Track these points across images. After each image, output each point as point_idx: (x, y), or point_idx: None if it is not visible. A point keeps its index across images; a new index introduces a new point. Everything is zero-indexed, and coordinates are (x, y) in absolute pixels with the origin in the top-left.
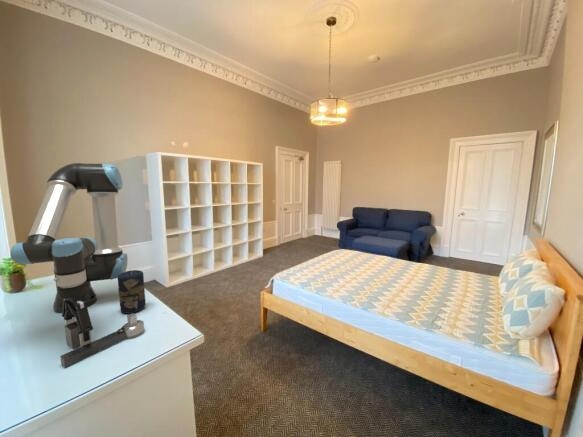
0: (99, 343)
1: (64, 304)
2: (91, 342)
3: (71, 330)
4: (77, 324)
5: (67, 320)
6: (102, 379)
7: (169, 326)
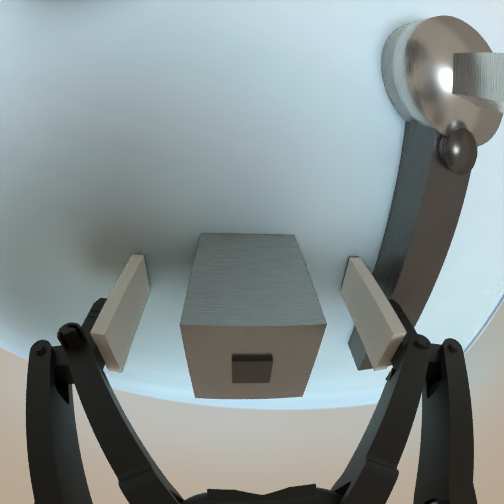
0: (439, 269)
1: (87, 487)
2: (398, 288)
3: (303, 389)
4: (269, 373)
5: (111, 364)
6: (498, 290)
7: (493, 2)
